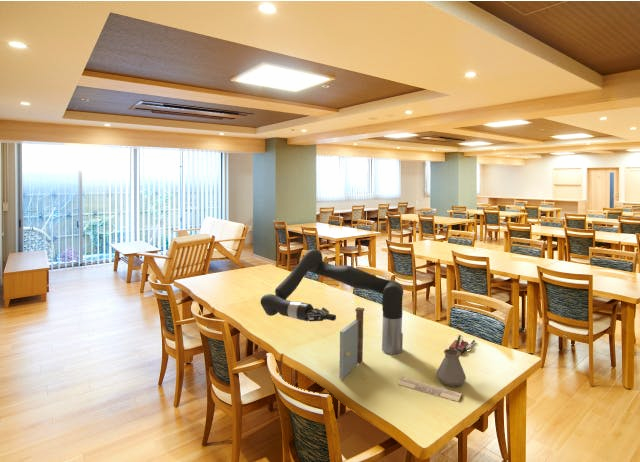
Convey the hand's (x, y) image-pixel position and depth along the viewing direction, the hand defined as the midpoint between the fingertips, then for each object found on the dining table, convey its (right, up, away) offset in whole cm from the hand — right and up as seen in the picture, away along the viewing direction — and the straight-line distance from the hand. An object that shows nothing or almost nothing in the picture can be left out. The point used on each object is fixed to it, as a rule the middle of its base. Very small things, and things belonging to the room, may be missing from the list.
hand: (335, 317), depth 165 cm
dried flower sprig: (+64, -22, +29) cm, 74 cm away
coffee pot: (+50, -25, 0) cm, 56 cm away
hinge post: (+11, -23, +13) cm, 29 cm away
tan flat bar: (+37, -27, -11) cm, 47 cm away
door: (+7, -24, +4) cm, 25 cm away
